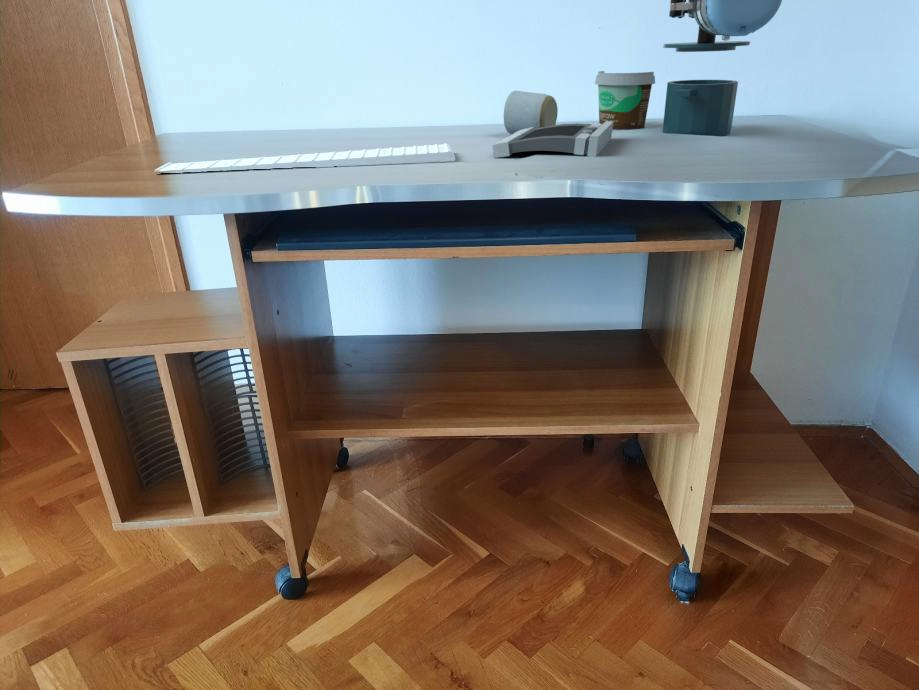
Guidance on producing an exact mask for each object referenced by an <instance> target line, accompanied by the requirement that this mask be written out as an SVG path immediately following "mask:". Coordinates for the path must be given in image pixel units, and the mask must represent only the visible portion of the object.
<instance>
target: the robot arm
mask: <svg viewBox="0 0 919 690" xmlns="http://www.w3.org/2000/svg"><path fill="white" fill-rule="evenodd" d="M782 2H783V0H688V1H687V0H670V4H669V16H668V17H669V18H672V19H675V18H678V19H683V18H685V16H686V14H687V15H688V16H687V17H688V18H691V19H694V20H695V22H696V24H697V25H698V27H699V26H700V28H701V29H703V30H704V31H705V32H707V33H709V34H712V35H716V36H721V40H722V42H724V41H729V40H730V39H731V37H746V36H748V35H750V34H754V33H755V32H757V31H759V30H760V29H762V28H763V27H765V26H766V25H767V24H768V23H769V22H770V21H771V20H772V19H773V18H774V17H775V16H776V14H777V12H778V11H779V9H780V7H781V5H782Z"/></svg>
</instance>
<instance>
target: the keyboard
mask: <svg viewBox="0 0 919 690" xmlns="http://www.w3.org/2000/svg"><path fill="white" fill-rule="evenodd" d="M443 162H444V163H446V162H448V163H449V162H456V156H455V153H454V151H453V149H452V146H451V145H450V144H448V143H447V142H444V144H437V143H435V144H424V145H415V144H414V145H413V146H404V145H403V146H402V147H392V146H390V147H388V148H386V147H385V148H380V147H377V148H374V149H367V148H364V149H360V150H358V149H357V150H351V149H349V150H347V151H346V150H345V151H336V150H334V151H333V152H330V151H329V152H316V153H305V154H302V153H299V154H291V155H290V154H289V155H284V154H281V155H276V156H264V155H262V156H261V157H250V158H243V157H240V158H236V159H217V160H208V161H196V160H194V161H192V162H180V163H172V162H171V161H169V162H167V163H165V164H163V165H161V166H159V167H157V168H156V169H154V173H155V172H180V171H198V170H221V169H259V168H292V167H316V168H335V167H334V166H337V167H357V166H377V165H378V166H379V165H381V166H382V165H383V166H384V165H400V164H401V165H402V164H403V165H404V164H426V163H428V164H429V163H443ZM337 167H336V168H337Z"/></svg>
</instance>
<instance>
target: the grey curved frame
mask: <svg viewBox="0 0 919 690" xmlns="http://www.w3.org/2000/svg"><path fill="white" fill-rule="evenodd" d="M613 130H614V129H613V122H612V121H606V122H605V123H603V124H599V122H598V123H595V122H593V123H580V122H579V123H577V122H576V123H561V124H556V125H553V126H546V127H541V128H537V129H534V127H531V128H527V129H522V130H519V131H517V132H516V133H514V134H510V135H508V136H507V137H505V138H502V139H501V140H499V141H497V142H495V143H493V144H492V145H491V146H492V152H493V158H494V159H496V158H505V157H511V156H512V155H513V154H516V153H521V152H522V153H523V152H539V151H542V152H543V151H544V152H562V153H571V154H573V155H575V156H585V155H586V157H588V158H589V157H591V158H593V157H594V158H596V157H597V156H598V155H599V154H600V153H601V151H602V150H603V149H604V148H605V147H606V145H608V143H609V142H610V141H611V140H612V135H613Z"/></svg>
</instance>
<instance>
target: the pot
mask: <svg viewBox="0 0 919 690" xmlns="http://www.w3.org/2000/svg"><path fill="white" fill-rule="evenodd" d="M738 85H739V82H738V81H737V80H731V79H684V80H683V79H681V80H671V81H667V83H666V94H665V104H664V113H663V122H662V123H663V124H662V134H673V135H690V136H691V135H692V136H704V137H705V136H706V137H707V136H708V137H723V136H728V135H730V134H731V131H732V127H733V120H734V113H735V108H736V107H735V106H736V99H737V91H738V87H739V86H738Z"/></svg>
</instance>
